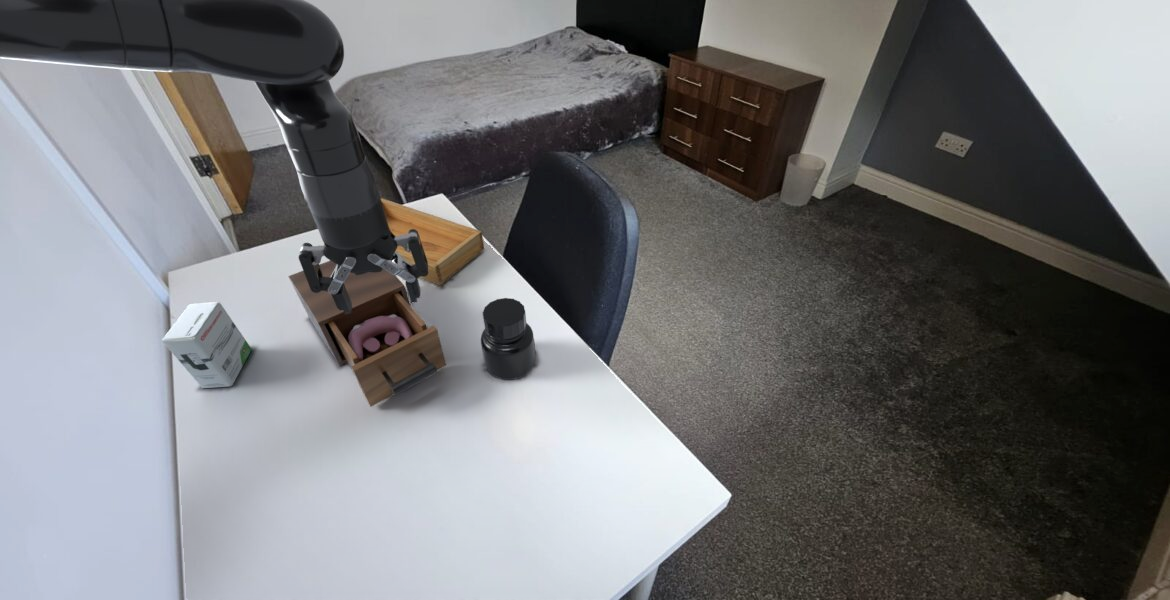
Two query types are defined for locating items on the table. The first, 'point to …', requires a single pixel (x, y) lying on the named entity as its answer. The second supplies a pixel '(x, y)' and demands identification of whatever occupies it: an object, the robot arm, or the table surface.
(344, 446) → the table surface
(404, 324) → the video game controller
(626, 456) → the table surface
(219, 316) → the ink box
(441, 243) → the tray
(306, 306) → the cabinet
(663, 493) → the table surface
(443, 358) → the drawer
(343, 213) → the robot arm
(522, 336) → the ink bottle
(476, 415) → the table surface
